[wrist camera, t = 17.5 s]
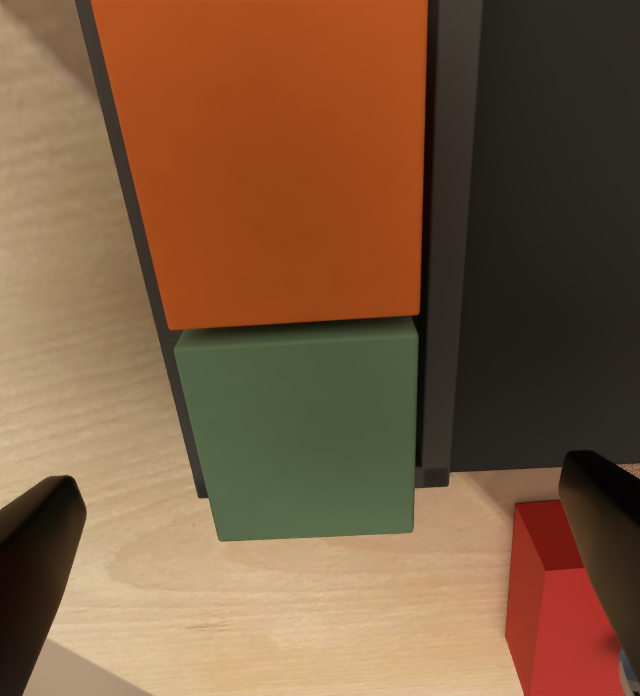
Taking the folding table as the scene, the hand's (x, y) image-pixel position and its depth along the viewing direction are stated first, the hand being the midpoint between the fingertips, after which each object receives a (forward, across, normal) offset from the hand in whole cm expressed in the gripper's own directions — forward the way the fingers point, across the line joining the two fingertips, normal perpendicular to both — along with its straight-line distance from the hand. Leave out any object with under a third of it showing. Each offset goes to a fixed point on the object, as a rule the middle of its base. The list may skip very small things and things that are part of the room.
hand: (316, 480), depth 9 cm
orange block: (+5, 0, -5) cm, 7 cm away
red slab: (+7, -10, +11) cm, 17 cm away
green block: (+5, 0, 0) cm, 5 cm away
